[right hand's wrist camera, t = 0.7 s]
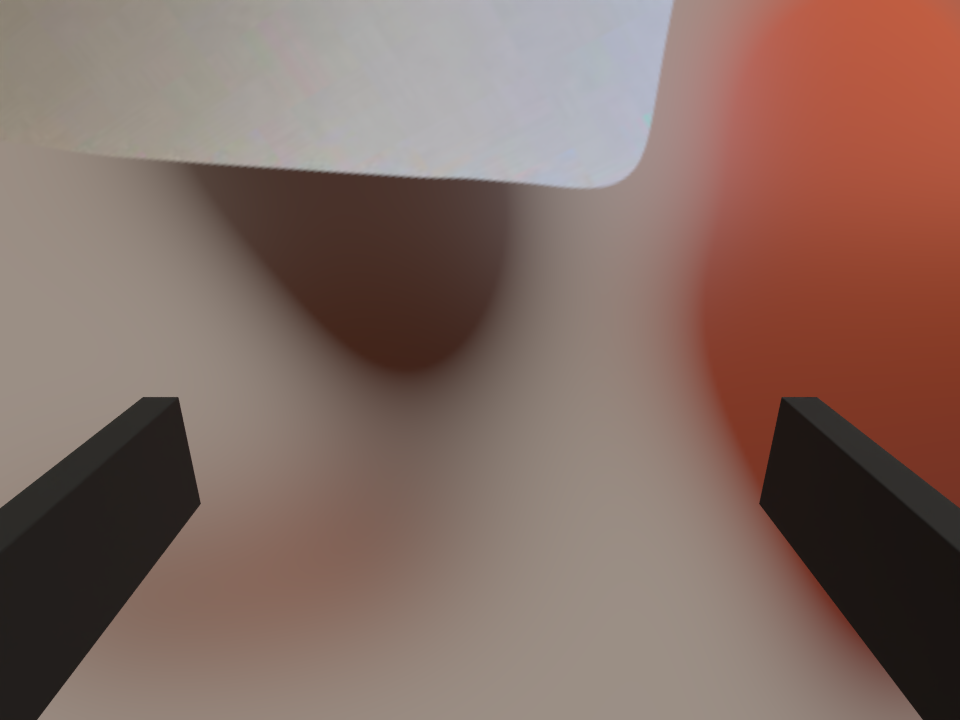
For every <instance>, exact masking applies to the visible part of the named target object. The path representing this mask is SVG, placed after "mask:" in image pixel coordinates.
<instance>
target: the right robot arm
mask: <svg viewBox="0 0 960 720" xmlns="http://www.w3.org/2000/svg"><path fill="white" fill-rule="evenodd" d="M200 504H201V503H200V498H199V493H198V489H197V484H196V479H195V475H194V470H193V465H192V460H191V455H190V451H189V446H188V441H187V437H186V432H185V427H184V422H183V417H182V413H181V408H180V403H179V398H178V397H143V398H141V399H140V400H139V401H138V402H136V403H135V404H134V405H132V406H131V407H130V408H129V409H127V410H126V411H125V412H123V413H122V414H121V415H120V416H118V417H117V418H116V419H114V420H113V421H112V422H111V423H109V424H108V425H107V426H105V427H104V428H103V429H102V430H100V431H99V432H98V433H96V434H95V435H94V436H93V437H91V438H90V439H89V440H88V441H86V442H85V443H84V444H82V445H81V446H80V447H78V448H77V449H76V450H75V451H73V452H72V453H71V454H69V455H68V456H67V457H66V458H64V459H63V460H62V461H60V462H59V463H58V464H57V465H55V466H54V467H53V468H52V469H50V470H49V471H48V472H46V473H45V474H44V475H43V476H41V477H40V478H39V479H37V480H36V481H35V482H33V483H32V484H31V485H30V486H28V487H27V488H26V489H25V490H23V491H22V492H21V493H19V494H18V495H17V496H15V497H14V498H13V499H12V500H10V501H9V502H8V503H7V504H5V505H4V506H3V507H1V508H0V720H37V719H38V718H39V716H40V715H41V714H42V713H43V711H44V710H45V709H46V707H47V706H48V705H49V703H50V702H51V701H52V699H53V698H54V697H55V695H56V694H57V693H58V691H59V690H60V689H61V687H62V686H63V685H64V683H65V682H66V681H67V679H68V678H69V677H70V676H71V674H72V673H73V672H74V670H75V669H76V668H77V666H78V665H79V664H80V662H81V661H82V660H83V658H84V657H85V656H86V654H87V653H88V652H89V651H90V649H91V648H92V647H93V645H94V644H95V643H96V641H97V640H98V639H99V637H100V636H101V635H102V633H103V632H104V631H105V629H106V628H107V627H108V625H109V624H110V623H111V621H112V620H113V619H114V617H115V616H116V615H117V614H118V612H119V611H120V610H121V608H122V607H123V606H124V604H125V603H126V602H127V600H128V599H129V598H130V596H131V595H132V594H133V592H134V591H135V590H136V588H137V587H138V586H139V585H140V583H141V582H142V580H143V579H144V578H145V576H146V575H147V574H148V573H149V571H150V570H151V569H152V567H153V566H154V565H155V563H156V562H157V561H158V559H159V558H160V557H161V555H162V554H163V553H164V552H165V550H166V549H167V548H168V546H169V545H170V544H171V542H172V541H173V540H174V538H175V537H176V536H177V534H178V533H179V532H180V530H181V529H182V528H183V526H184V525H185V524H186V522H187V521H188V520H189V518H190V517H191V516H192V515H193V513H194V512H195V511H196V509H197V508H198V507H199V505H200ZM759 504H760V505H761V507H762V508H763V509H764V511H765V512H766V513H767V515H768V516H769V517H770V519H771V520H772V521H773V522H774V524H775V525H776V526H777V528H778V529H779V530H780V532H781V533H782V534H783V536H784V537H785V538H786V540H787V541H788V542H789V544H790V545H791V546H792V547H793V549H794V550H795V552H796V553H797V554H798V555H799V557H800V558H801V559H802V561H803V562H804V563H805V565H806V566H807V567H808V569H809V570H810V571H811V573H812V574H813V575H814V576H815V578H816V579H817V581H818V582H819V583H820V585H821V586H822V587H823V588H824V590H825V591H826V592H827V594H828V595H829V596H830V598H831V599H832V600H833V602H834V603H835V604H836V606H837V607H838V608H839V610H840V611H841V612H842V614H843V615H844V616H845V618H846V619H847V620H848V621H849V623H850V624H851V625H852V627H853V628H854V629H855V631H856V632H857V633H858V635H859V636H860V637H861V639H862V640H863V641H864V643H865V644H866V645H867V647H868V648H869V649H870V650H871V652H872V653H873V654H874V656H875V657H876V658H877V660H878V661H879V662H880V664H881V665H882V666H883V668H884V669H885V670H886V672H887V673H888V674H889V675H890V677H891V678H892V679H893V681H894V682H895V683H896V685H897V686H898V687H899V689H900V690H901V691H902V693H903V694H904V695H905V697H906V698H907V699H908V701H909V702H910V703H911V705H912V706H913V707H914V709H915V710H916V711H917V713H918V714H919V715H920V716H921V718H922V719H923V720H960V508H959V507H957V506H956V505H955V504H954V503H952V502H951V501H950V500H948V499H947V498H946V497H944V496H943V495H942V494H941V493H939V492H938V491H937V490H936V489H934V488H933V487H932V486H930V485H929V484H928V483H927V482H925V481H924V480H923V479H921V478H920V477H919V476H918V475H916V474H915V473H914V472H912V471H911V470H910V469H909V468H907V467H906V466H905V465H903V464H902V463H901V462H899V461H898V460H897V459H896V458H894V457H893V456H892V455H891V454H889V453H888V452H887V451H885V450H884V449H883V448H881V447H880V446H879V445H878V444H876V443H875V442H874V441H873V440H871V439H870V438H869V437H867V436H866V435H865V434H864V433H862V432H861V431H860V430H858V429H857V428H856V427H855V426H853V425H852V424H851V423H849V422H848V421H847V420H845V419H844V418H843V417H842V416H840V415H839V414H838V413H836V412H835V411H834V410H833V409H831V408H830V407H829V406H827V405H826V404H825V403H824V402H822V401H821V400H820V399H819V398H817V397H782V399H781V403H780V408H779V413H778V417H777V422H776V427H775V432H774V437H773V441H772V446H771V451H770V455H769V460H768V465H767V470H766V474H765V479H764V484H763V489H762V494H761V498H760V503H759Z"/></svg>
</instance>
